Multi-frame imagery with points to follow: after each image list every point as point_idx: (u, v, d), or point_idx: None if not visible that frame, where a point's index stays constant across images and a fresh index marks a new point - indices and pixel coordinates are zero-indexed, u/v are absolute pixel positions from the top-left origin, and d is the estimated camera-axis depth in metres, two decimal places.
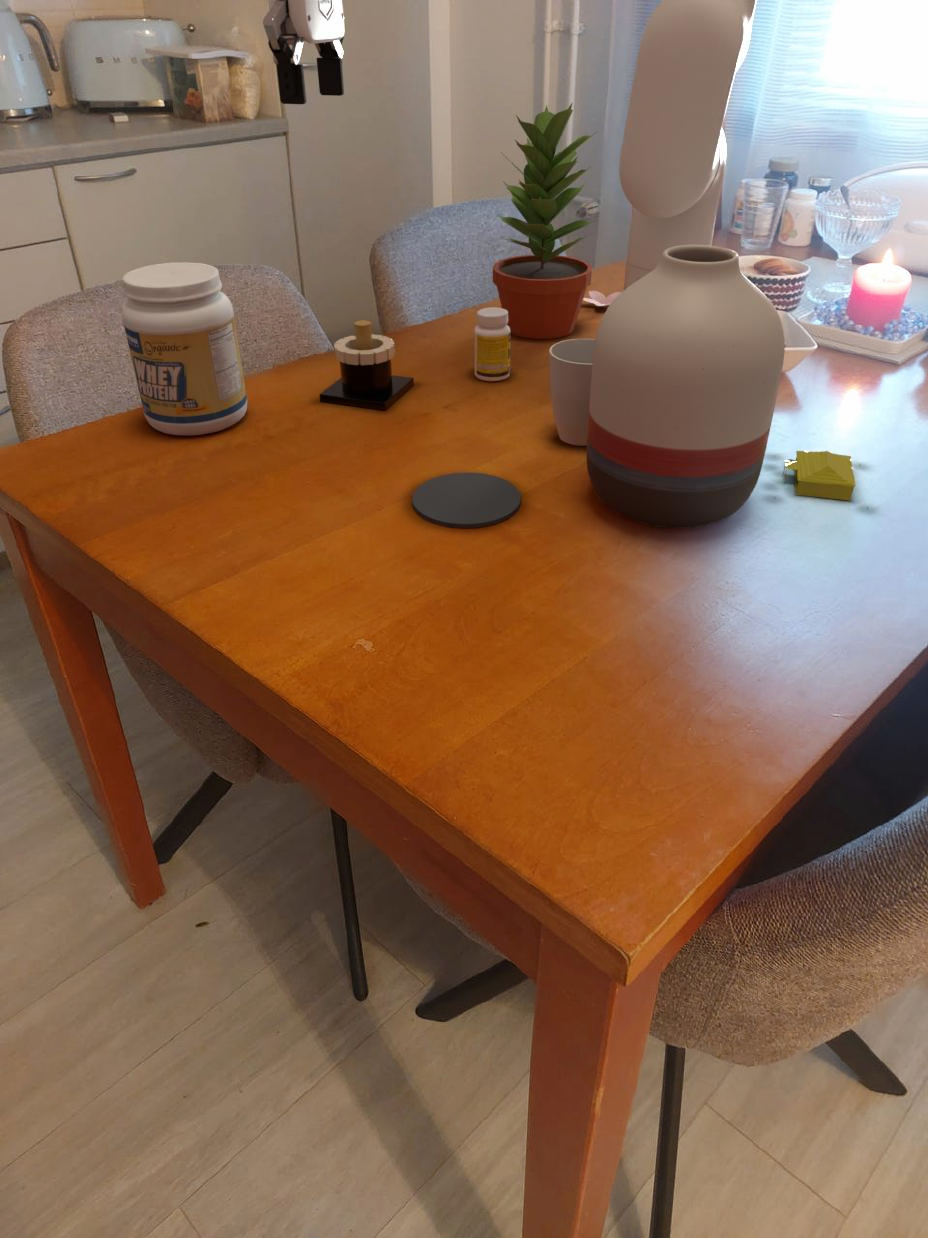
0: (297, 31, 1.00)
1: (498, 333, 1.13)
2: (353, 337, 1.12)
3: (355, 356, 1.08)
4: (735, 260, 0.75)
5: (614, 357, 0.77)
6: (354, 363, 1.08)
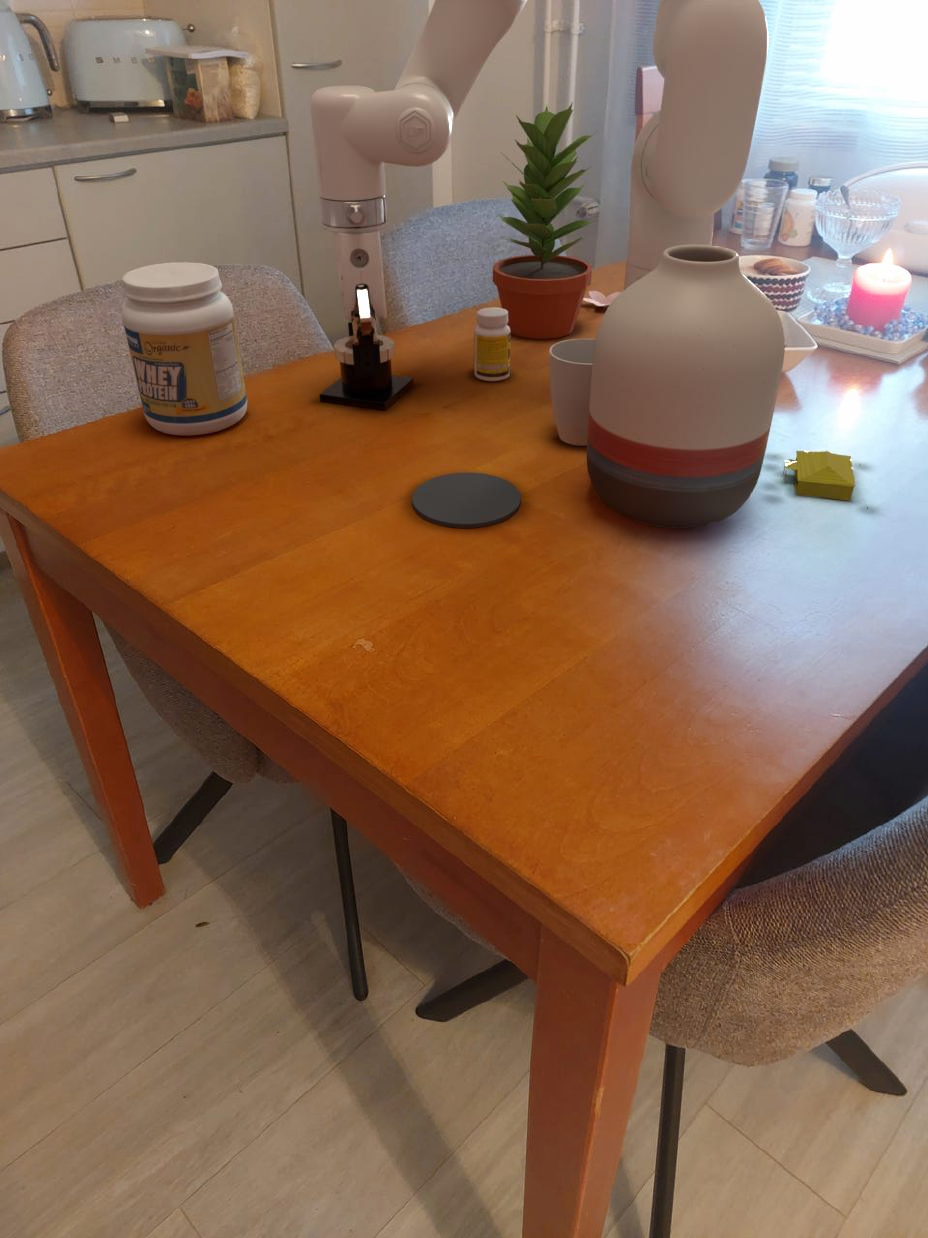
0: (377, 313, 1.04)
1: (498, 333, 1.13)
2: (353, 337, 1.12)
3: None
4: (735, 259, 0.75)
5: (614, 356, 0.77)
6: None
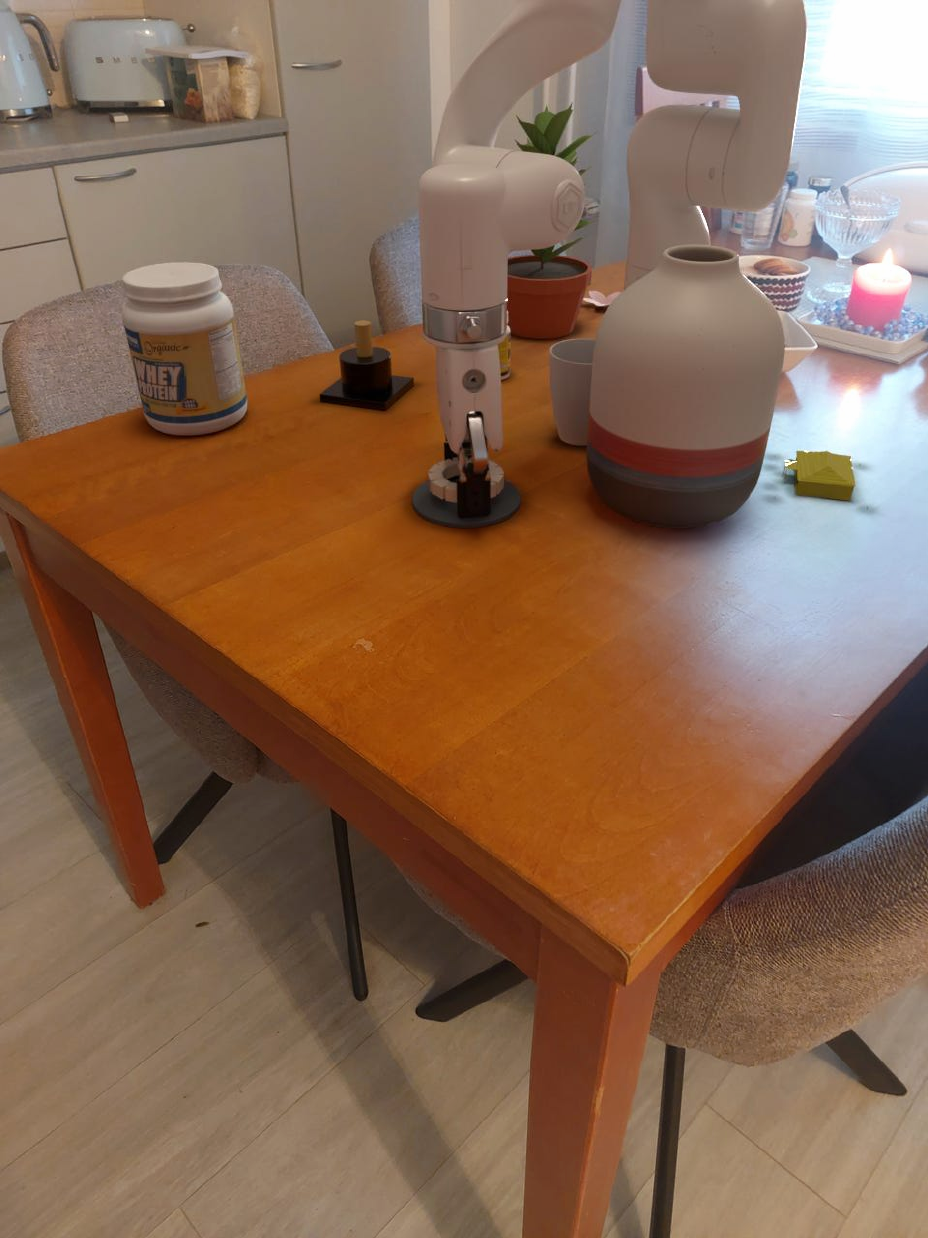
0: (491, 445, 0.82)
1: None
2: (450, 462, 0.90)
3: None
4: (735, 259, 0.75)
5: (614, 356, 0.77)
6: (456, 501, 0.86)
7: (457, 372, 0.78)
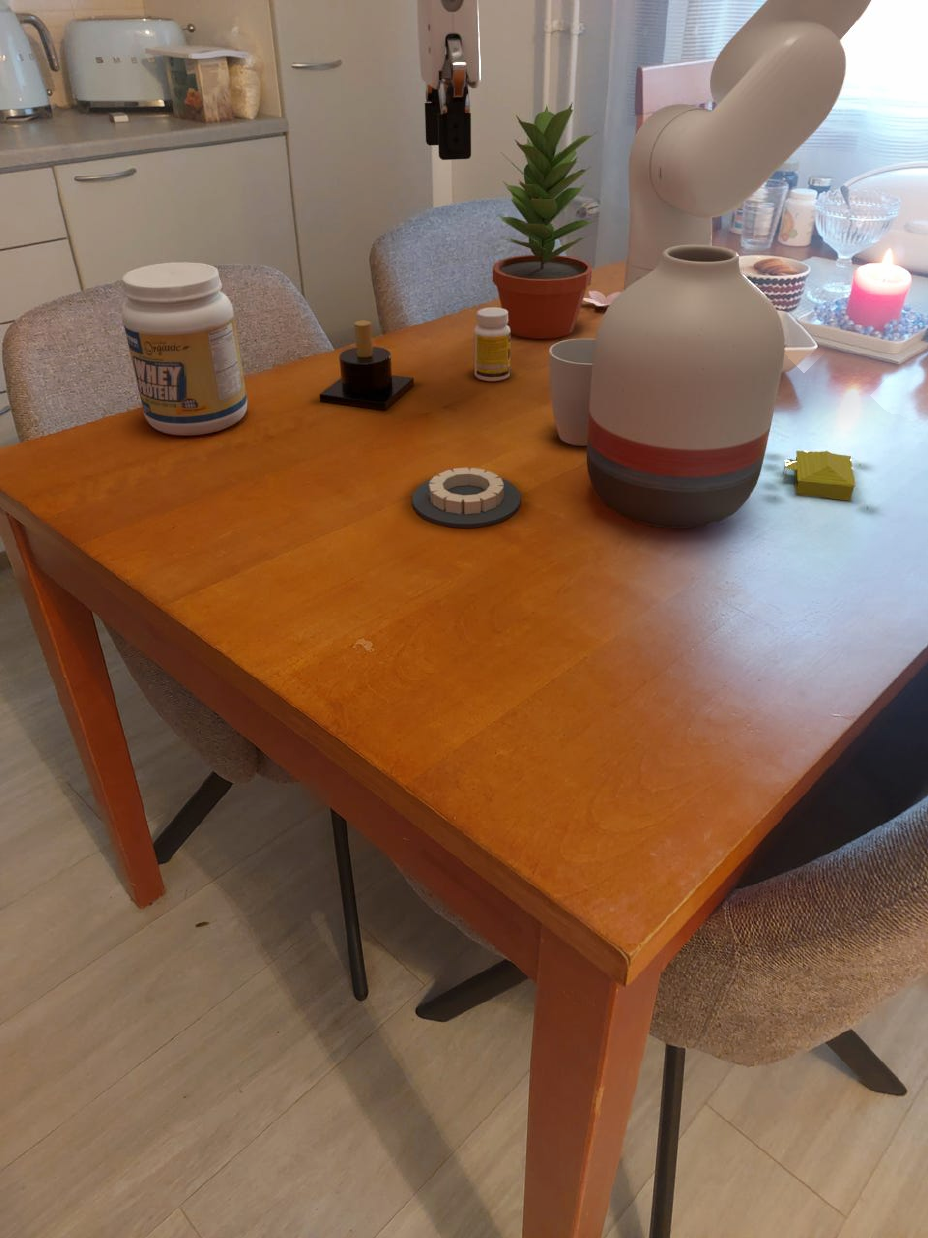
0: (469, 75, 0.85)
1: (498, 333, 1.13)
2: (450, 473, 0.91)
3: (458, 504, 0.86)
4: (735, 259, 0.75)
5: (614, 356, 0.77)
6: (456, 512, 0.87)
7: None
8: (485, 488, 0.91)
